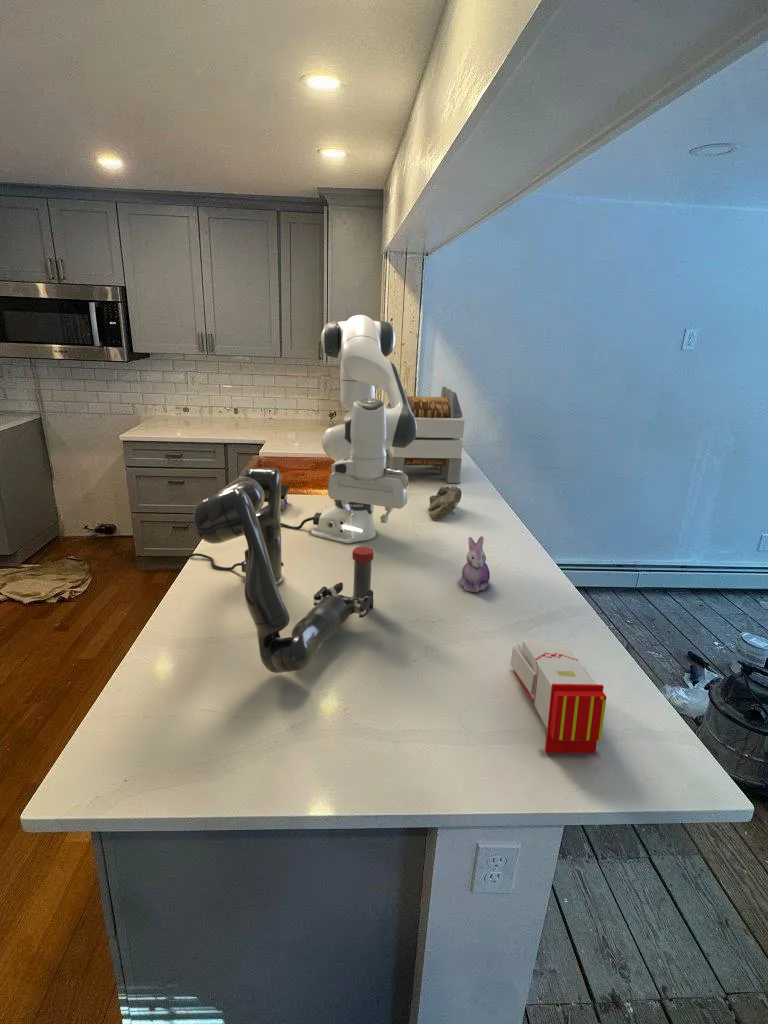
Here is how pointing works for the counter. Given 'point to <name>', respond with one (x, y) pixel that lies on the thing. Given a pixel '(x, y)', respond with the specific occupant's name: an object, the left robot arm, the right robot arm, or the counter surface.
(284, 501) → the figurine character
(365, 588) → the cylinder
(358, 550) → the lid
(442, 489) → the fossil
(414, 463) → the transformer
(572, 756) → the counter surface
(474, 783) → the counter surface
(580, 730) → the toy
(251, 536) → the left robot arm
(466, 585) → the figurine
